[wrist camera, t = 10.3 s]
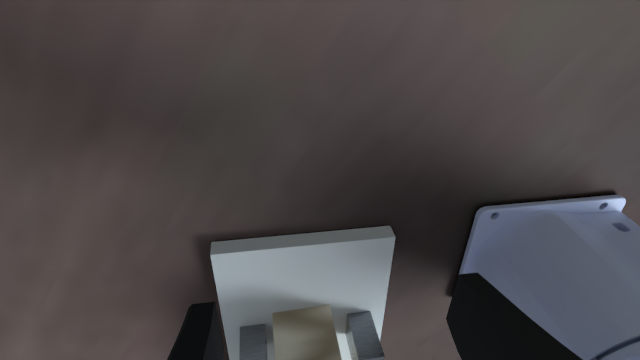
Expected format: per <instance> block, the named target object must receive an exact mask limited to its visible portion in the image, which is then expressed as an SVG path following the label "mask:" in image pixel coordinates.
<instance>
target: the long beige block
mask: <svg viewBox="0 0 640 360" xmlns="http://www.w3.org/2000/svg"><path fill="white" fill-rule="evenodd" d="M272 320H273V334H274V349H275V360H342V358H341V354H340V349H339V345H338V340H337V335H336V331H335V326H334V322H333V317H332V313H331V308H330V304H329V305H322V306H316V307H309V308H302V309H296V310H289V311H282V312H276V313H272Z"/></svg>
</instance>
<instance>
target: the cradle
mask: <svg viewBox="0 0 640 360" xmlns="http://www.w3.org/2000/svg"><path fill="white" fill-rule="evenodd" d="M395 238H396V237H395V235H394V233H393V230H392V228H391V226H380V227H369V228H359V229H348V230H337V231H326V232H315V233H304V234H293V235H282V236H272V237H261V238H250V239H239V240H228V241H217V242H211V252H210V257H211V262H212V268H213V273H214V279H215V284H216V289H217V295H218V300H219V306H220V311H221V317H222V322H223V328H224V333H225V338H226V344H227V349H228V355H229V360H275V349H274V334H273V320H272V313H276V312H282V311H289V310H296V309H302V308H309V307H316V306H322V305H329V304H330V308H331V313H332V317H333V322H334V326H335V331H336V335H337V340H338V345H339V349H340V354H341V358H342V360H384V358H385V356H384V353H383V350H382V347H381V343H380V337H381V330H382V324H383V317H384V311H385V304H386V297H387V291H388V284H389V278H390V271H391V264H392V258H393V251H394V244H395Z"/></svg>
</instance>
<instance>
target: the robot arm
mask: <svg viewBox="0 0 640 360" xmlns="http://www.w3.org/2000/svg"><path fill="white" fill-rule="evenodd" d="M625 203H626V199H625V198H623V197H622V196H621V195H608V196H597V197H585V198H574V199H563V200H551V201H540V202H529V203H517V204H506V205H495V206H485V207H482V208H480V209H479V210H478V211H477V213H476V215H475V219H474V222H473V226H472V229H471V233H470V236H469V240H468V243H467V247H466V250H465V254H464V258H463V261H462V265H461V268H460V272H459V275H458V279H457V282H456V286H455V289H454V293H453V296H452V300H451V303H450V307H449V311H448V314H447V318H446V320H447V323H448V326H449V328H450V331H451V334H452V337H453V340H454V342H455V345H456V348H457V350H458V353H459V355H460V357H461V359H462V360H640V226H638V225H637V224H636V223H635V222H633V221H632V220H631V219H630V218H628V217H627V216H626V215H624V214H623V213H622V212H621V211H622V209H623V207H624V205H625ZM493 213H495V214H493ZM492 214H493V215H492ZM223 354H224V347H223V342H222V336H221V331H220V326H219V321H218V316H217V310H216V305H215V302H209V303H200V304H192V305H191V306H190V307H189V309H188V311H187V314H186V317H185V320H184V322H183V325H182V327H181V330H180V332H179V335H178V337H177V339H176V342H175V344H174V346H173V348H172V350H171V353H170V355H169V357H168V359H167V360H223Z"/></svg>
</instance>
